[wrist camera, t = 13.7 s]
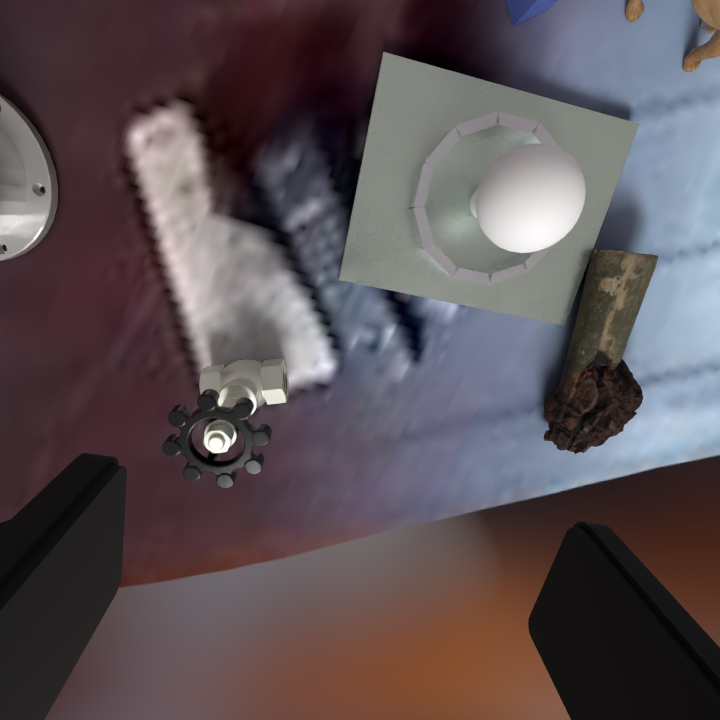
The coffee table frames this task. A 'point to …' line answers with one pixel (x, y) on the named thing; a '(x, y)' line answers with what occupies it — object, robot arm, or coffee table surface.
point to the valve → (228, 417)
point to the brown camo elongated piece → (600, 354)
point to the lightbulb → (529, 198)
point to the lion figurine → (716, 9)
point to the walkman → (526, 9)
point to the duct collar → (470, 190)
